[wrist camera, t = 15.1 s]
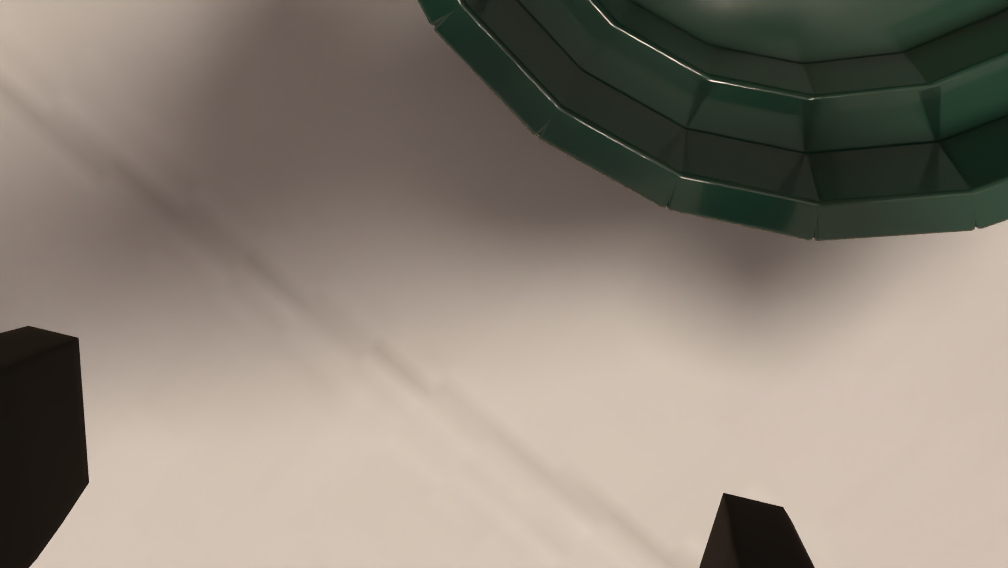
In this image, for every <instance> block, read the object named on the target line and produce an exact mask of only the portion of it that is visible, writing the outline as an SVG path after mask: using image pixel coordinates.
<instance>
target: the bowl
mask: <svg viewBox="0 0 1008 568" xmlns="http://www.w3.org/2000/svg"><path fill="white" fill-rule="evenodd" d="M418 2H419V4H420V6H421V8H422V10H423V12H424V14H425V16H426V17H427V19H428V21H429V23H430V24H431V25H432V26H434V25H435V26H434V30H435V32H436V33H437V34H438V35H439V36H440V37H441V38H442V39H443V40H444V41H445V42H446V43H447V44H448V45H449V46H450V48H451V49H452V50H453V51H454V52H455V53H456V54H457V55H458V56H459V57H460V58H461V59H462V60H463V61H464V62H465V63H466V64H467V65H468V66H469V67H470V68H471V69H472V71H473V72H474V73H475V74H476V75H477V76H478V77H479V78H480V79H481V80H482V81H483V82H484V83H485V84H486V85H487V86H488V87H489V88H490V89H491V90H492V91H493V93H494V94H495V95H496V96H497V97H498V98H499V99H500V100H501V101H502V102H503V103H504V104H505V105H506V106H507V107H508V108H509V109H510V110H511V111H512V112H513V113H514V114H515V116H516V117H517V118H518V119H519V120H520V121H521V122H522V123H523V124H524V125H525V126H526V127H527V128H528V129H529V130H530V131H531V132H532V133H533V134H534V135H536V136H537V135H539V138H540V139H541V140H542V141H544V142H545V143H547V144H549V145H551V146H553V147H554V148H556V149H558V150H560V151H562V152H563V153H565V154H567V155H569V156H571V157H572V158H574V159H576V160H578V161H579V162H581V163H583V164H585V165H587V166H588V167H590V168H592V169H594V170H596V171H597V172H599V173H601V174H603V175H605V176H606V177H608V178H610V179H612V180H614V181H615V182H617V183H619V184H621V185H623V186H624V187H626V188H628V189H630V190H631V191H633V192H635V193H637V194H639V195H640V196H642V197H644V198H646V199H648V200H649V201H651V202H653V203H655V204H657V205H658V206H660V207H666V206H667V209H669V210H671V211H675V212H680V213H685V214H689V215H694V216H698V217H703V218H708V219H712V220H717V221H722V222H726V223H731V224H736V225H740V226H745V227H749V228H754V229H759V230H763V231H768V232H773V233H777V234H782V235H786V236H791V237H796V238H800V239H805V240H812V239H813V238H814V240H817V241H824V240H839V239H854V238H869V237H884V236H899V235H913V234H928V233H943V232H958V231H971V230H974V229H975V227H976V228H978V229H979V228H985V227H988V226H991V225H994V224H996V223H999V222H1002V221H1005V220H1008V0H418Z"/></svg>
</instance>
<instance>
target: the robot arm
mask: <svg viewBox="0 0 1008 568" xmlns="http://www.w3.org/2000/svg"><path fill="white" fill-rule="evenodd" d="M88 483H89V476H88V462H87V448H86V435H85V421H84V407H83V393H82V379H81V365H80V352H79V338H77V337H73V336H69V335H65V334H60V333H56V332H52V331H48V330H44V329H40V328H35V327H31V326H26V327H22V328H18V329H15V330H11V331H7V332H3V333H0V568H29V567H30V566H31V565H32V563H33V562H34V561H35V560H36V559H37V558H38V556H39V555H40V553H41V552H42V551H43V549H44V548H45V547H46V545H47V544H48V542H49V541H50V540H51V538H52V537H53V535H54V534H55V533H56V531H57V530H58V528H59V527H60V526H61V524H62V523H63V521H64V520H65V518H66V517H67V515H68V514H69V512H70V511H71V509H72V508H73V506H74V505H75V503H76V501H77V500H78V498H79V497H80V495H81V494H82V492H83V491H84V489H85V488H86V486H87V485H88ZM699 568H815V567H814V565H813V563H812V561H811V559H810V557H809V555H808V553H807V551H806V549H805V547H804V545H803V543H802V541H801V539H800V537H799V535H798V533H797V531H796V529H795V527H794V525H793V523H792V521H791V519H790V518H789V516H788V514H787V513H786V511H785V510H784V508H783V507H780V506H776V505H772V504H768V503H763V502H759V501H755V500H751V499H747V498H743V497H739V496H734V495H730V494H726V493H723V496H722V499H721V502H720V505H719V508H718V511H717V515H716V518H715V521H714V524H713V527H712V530H711V533H710V536H709V539H708V543H707V546H706V549H705V552H704V555H703V558H702V561H701V564H700V567H699Z"/></svg>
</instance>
